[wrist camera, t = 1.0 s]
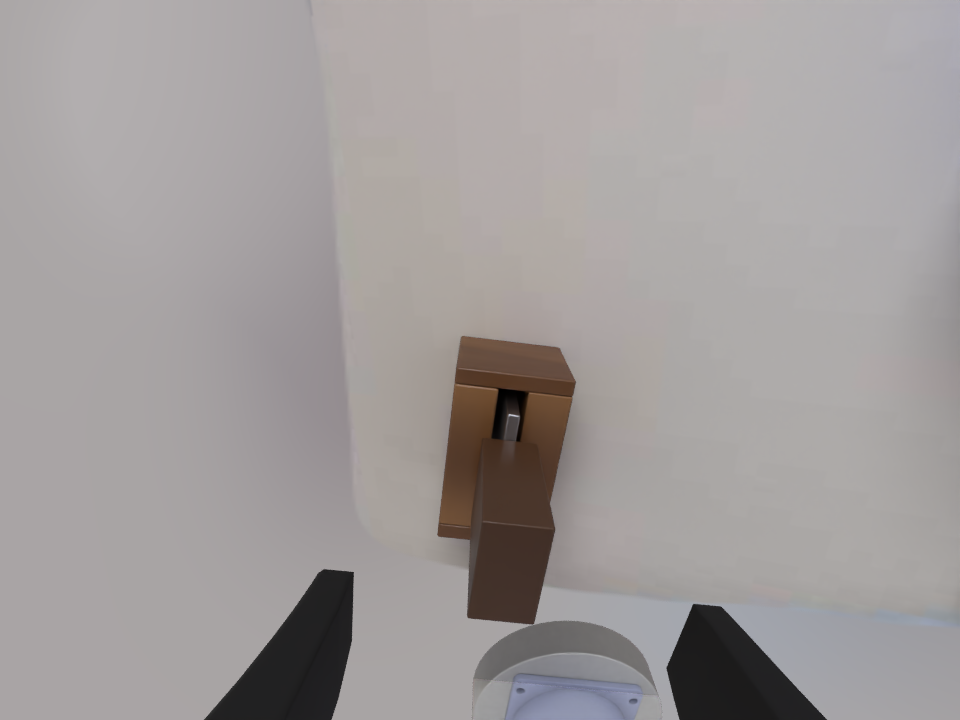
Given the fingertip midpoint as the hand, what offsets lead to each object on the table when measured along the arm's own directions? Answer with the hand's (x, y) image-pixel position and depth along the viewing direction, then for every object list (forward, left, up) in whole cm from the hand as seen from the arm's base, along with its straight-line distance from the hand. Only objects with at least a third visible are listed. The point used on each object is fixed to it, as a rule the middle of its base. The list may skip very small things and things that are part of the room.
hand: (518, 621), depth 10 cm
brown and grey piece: (-1, 0, -10) cm, 10 cm away
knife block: (-1, 0, -10) cm, 10 cm away
